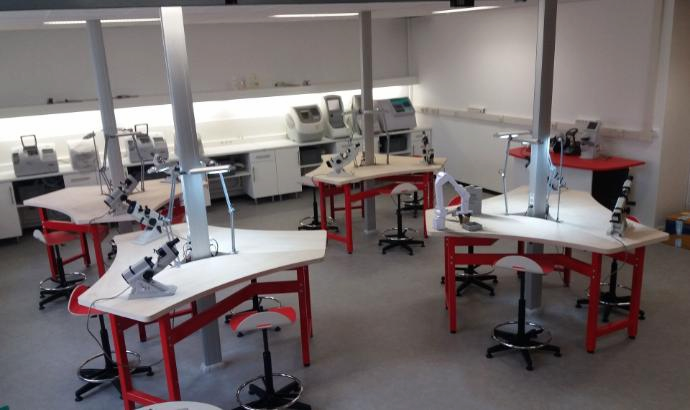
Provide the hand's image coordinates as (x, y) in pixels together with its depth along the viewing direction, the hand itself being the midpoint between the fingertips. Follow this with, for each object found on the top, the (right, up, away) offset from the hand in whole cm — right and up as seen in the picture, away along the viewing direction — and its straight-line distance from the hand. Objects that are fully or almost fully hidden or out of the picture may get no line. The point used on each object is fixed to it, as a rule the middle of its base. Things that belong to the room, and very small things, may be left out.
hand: (464, 222), depth 452 cm
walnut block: (0, -2, 0) cm, 2 cm away
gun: (-6, +1, +16) cm, 17 cm away
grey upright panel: (+13, +6, +32) cm, 35 cm away
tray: (+4, -4, -9) cm, 11 cm away
